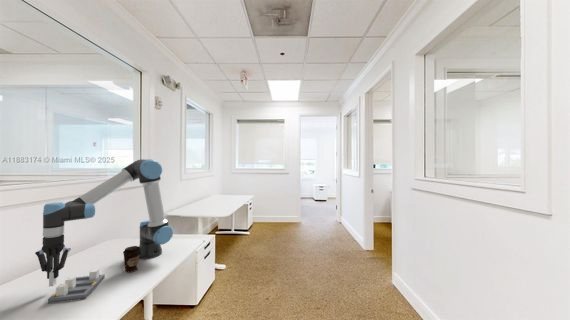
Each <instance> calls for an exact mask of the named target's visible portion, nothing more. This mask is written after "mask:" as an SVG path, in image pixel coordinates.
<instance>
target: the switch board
mask: <svg viewBox="0 0 570 320" xmlns="http://www.w3.org/2000/svg"><path fill="white" fill-rule="evenodd" d="M75 277H76V286H75V287H74V288H68V294H66V295H64V296H56V292H54V293H53V294H52V295H50V296H49V298H47V304H53V303H55V304H56V303H64V302H69V301H71V300H72V301H77V300H78V299H80V300H87V298H89V296H90V295H91V294H92V293H93V291H94V290H95V289H96V288H97V287H98V286H99V285H100V284H101V283H102V281H103V280H104V279H105V277H106V274H105V273H104V274H99V278H98V279H95V280H89V275H87V276H86V275H84V276H75ZM89 294H90V295H89ZM78 301H79V300H78Z"/></svg>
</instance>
